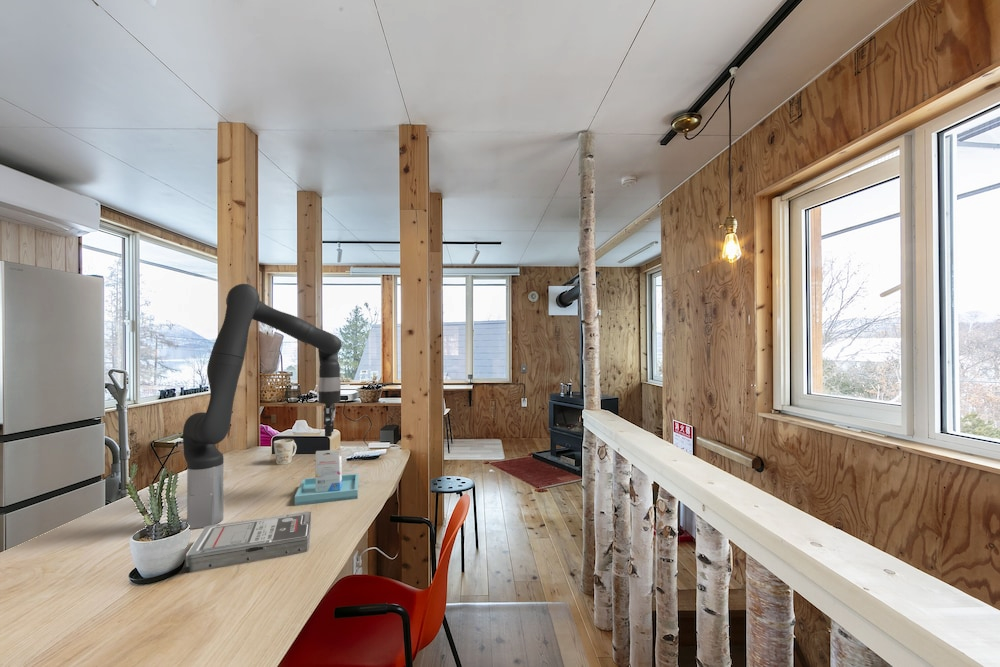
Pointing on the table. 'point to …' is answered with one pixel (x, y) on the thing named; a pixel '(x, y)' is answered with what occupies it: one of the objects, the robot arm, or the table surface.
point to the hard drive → (249, 541)
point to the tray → (310, 496)
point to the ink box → (328, 471)
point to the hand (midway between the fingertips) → (329, 434)
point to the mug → (284, 451)
